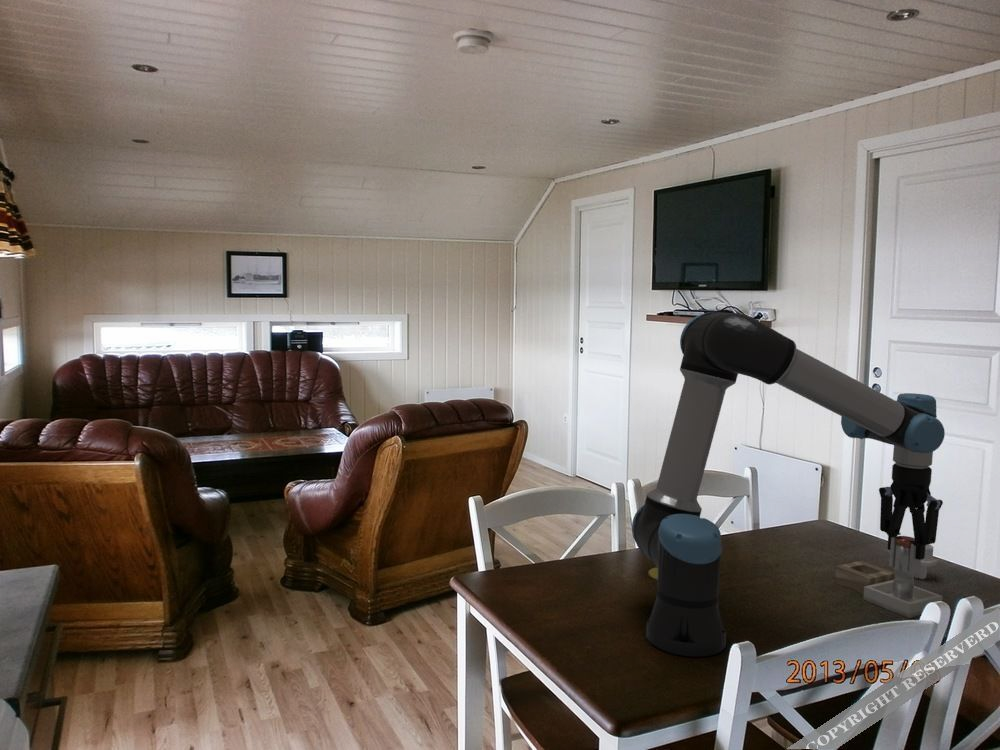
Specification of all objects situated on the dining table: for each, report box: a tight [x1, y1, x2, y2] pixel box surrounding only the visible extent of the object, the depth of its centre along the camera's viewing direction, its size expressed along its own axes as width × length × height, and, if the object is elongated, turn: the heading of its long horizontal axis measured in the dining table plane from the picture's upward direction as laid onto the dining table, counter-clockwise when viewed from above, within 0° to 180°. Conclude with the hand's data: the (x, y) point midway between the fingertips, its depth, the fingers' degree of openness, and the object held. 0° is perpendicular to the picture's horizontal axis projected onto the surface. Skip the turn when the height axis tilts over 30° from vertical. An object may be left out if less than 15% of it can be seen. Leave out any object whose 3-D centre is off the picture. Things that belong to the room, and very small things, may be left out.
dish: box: [863, 580, 944, 619], centre depth 165 cm, size 11×11×3 cm
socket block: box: [834, 560, 894, 595], centre depth 176 cm, size 9×9×4 cm
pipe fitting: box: [914, 544, 938, 580], centre depth 182 cm, size 6×7×8 cm
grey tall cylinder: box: [892, 535, 915, 599], centre depth 165 cm, size 4×4×13 cm
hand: (904, 568), depth 165 cm, fingers closed on grey tall cylinder, 4 cm apart
